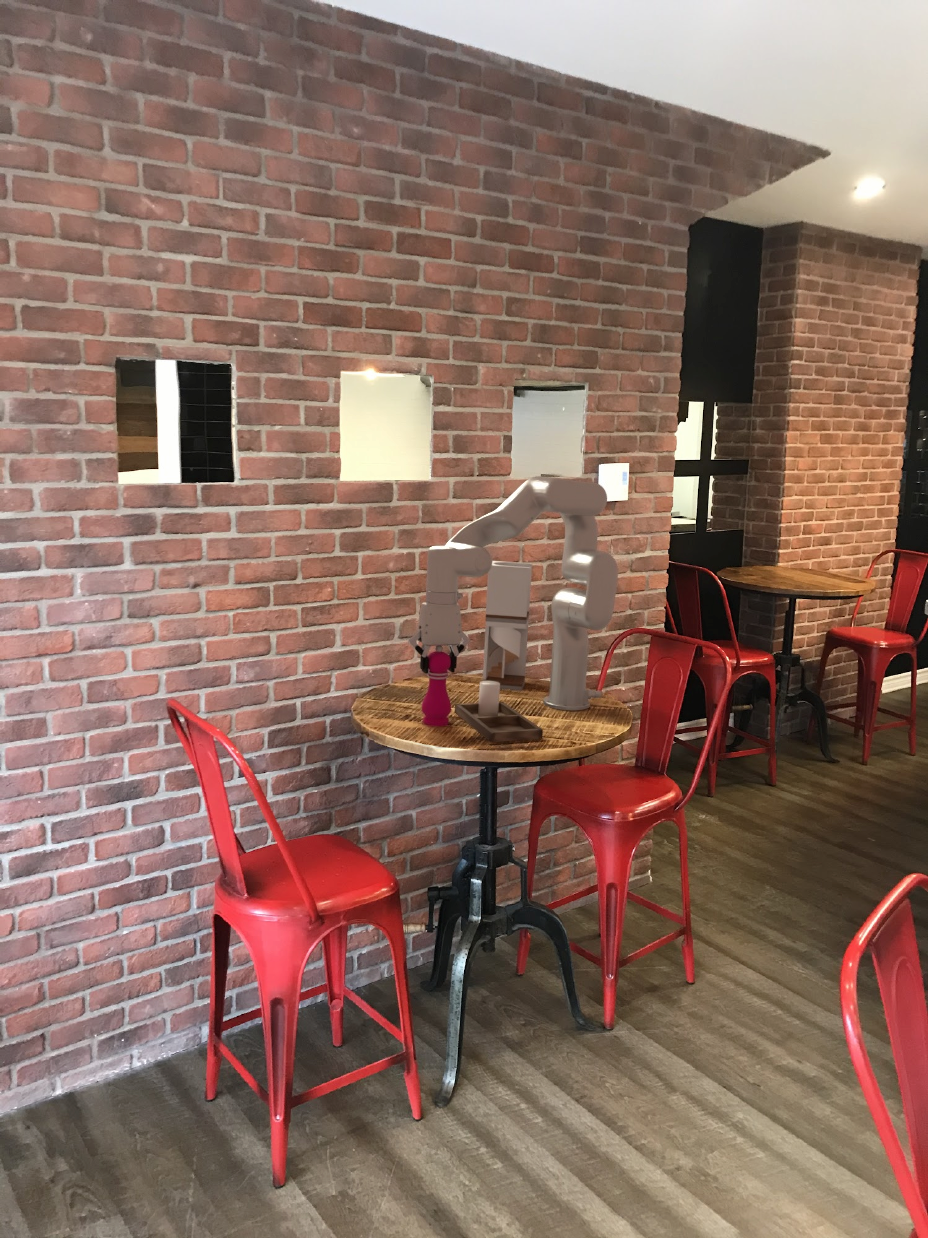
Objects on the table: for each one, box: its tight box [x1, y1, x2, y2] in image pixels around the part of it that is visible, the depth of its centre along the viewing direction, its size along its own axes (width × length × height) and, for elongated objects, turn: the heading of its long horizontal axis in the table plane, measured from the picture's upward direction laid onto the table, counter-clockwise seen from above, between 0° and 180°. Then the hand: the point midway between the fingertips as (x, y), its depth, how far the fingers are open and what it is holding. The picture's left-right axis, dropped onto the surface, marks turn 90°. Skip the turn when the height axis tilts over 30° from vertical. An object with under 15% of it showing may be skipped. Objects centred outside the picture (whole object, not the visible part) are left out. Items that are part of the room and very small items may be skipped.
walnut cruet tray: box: [454, 701, 544, 746], centre depth 239 cm, size 13×25×3 cm, turn 20°
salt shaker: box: [478, 680, 501, 717], centre depth 244 cm, size 5×5×9 cm
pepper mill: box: [421, 646, 452, 727], centre depth 237 cm, size 7×7×20 cm
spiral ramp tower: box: [482, 560, 533, 692], centre depth 280 cm, size 11×11×35 cm
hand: (438, 671), depth 237 cm, fingers closed on pepper mill, 6 cm apart
